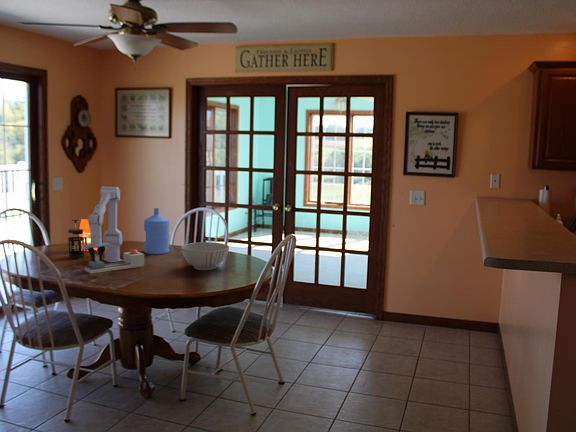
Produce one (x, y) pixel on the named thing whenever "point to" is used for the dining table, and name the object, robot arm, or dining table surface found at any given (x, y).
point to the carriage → (97, 262)
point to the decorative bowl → (205, 254)
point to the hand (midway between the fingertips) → (96, 260)
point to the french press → (73, 253)
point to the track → (121, 263)
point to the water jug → (156, 234)
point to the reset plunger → (133, 251)
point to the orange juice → (85, 232)
